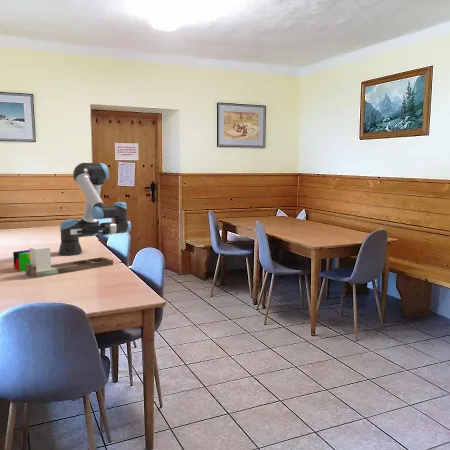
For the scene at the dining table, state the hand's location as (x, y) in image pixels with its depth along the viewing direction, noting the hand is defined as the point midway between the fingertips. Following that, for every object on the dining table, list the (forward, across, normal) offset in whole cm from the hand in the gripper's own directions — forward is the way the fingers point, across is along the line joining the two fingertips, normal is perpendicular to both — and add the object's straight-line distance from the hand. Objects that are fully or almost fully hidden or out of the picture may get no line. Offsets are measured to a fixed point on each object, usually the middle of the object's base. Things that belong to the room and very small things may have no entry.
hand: (71, 232), depth 264 cm
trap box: (0, 0, -22) cm, 22 cm away
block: (+18, 0, -19) cm, 26 cm away
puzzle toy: (+18, +20, -23) cm, 35 cm away
